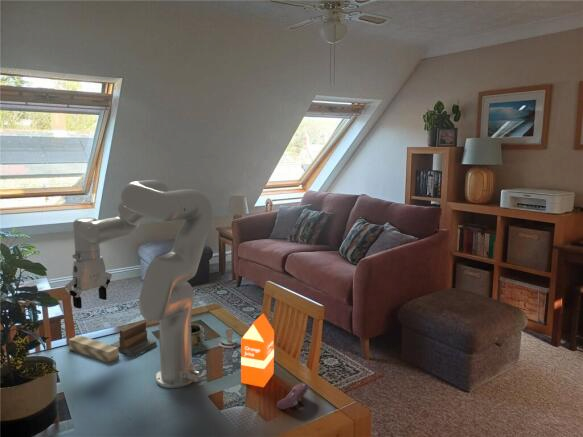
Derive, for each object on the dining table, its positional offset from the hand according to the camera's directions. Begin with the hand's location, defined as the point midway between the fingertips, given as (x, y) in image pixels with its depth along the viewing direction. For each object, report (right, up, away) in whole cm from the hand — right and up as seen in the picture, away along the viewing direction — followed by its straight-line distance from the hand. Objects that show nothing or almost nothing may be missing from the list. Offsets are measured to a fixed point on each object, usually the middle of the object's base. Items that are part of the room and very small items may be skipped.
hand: (90, 303), depth 149 cm
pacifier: (+45, -18, +11) cm, 50 cm away
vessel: (+32, -18, +11) cm, 38 cm away
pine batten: (0, -18, +3) cm, 19 cm away
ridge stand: (+12, -17, +8) cm, 23 cm away
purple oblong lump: (+69, -24, -24) cm, 77 cm away
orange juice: (+58, -22, -11) cm, 63 cm away
